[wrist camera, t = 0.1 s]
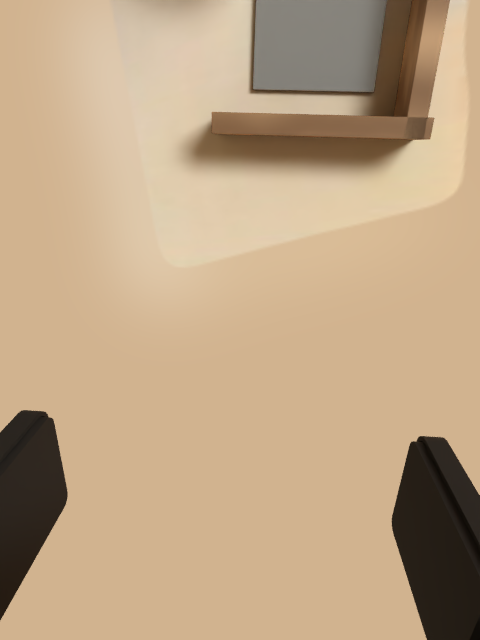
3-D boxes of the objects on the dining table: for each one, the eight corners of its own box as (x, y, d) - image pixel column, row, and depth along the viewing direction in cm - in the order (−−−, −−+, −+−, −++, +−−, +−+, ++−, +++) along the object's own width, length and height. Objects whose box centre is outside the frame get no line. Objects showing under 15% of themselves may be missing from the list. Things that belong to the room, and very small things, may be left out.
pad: (258, -64, 30) (258, -66, 30) (394, -63, 30) (395, -66, 30) (253, 89, 34) (253, 89, 34) (372, 92, 34) (374, 91, 34)
